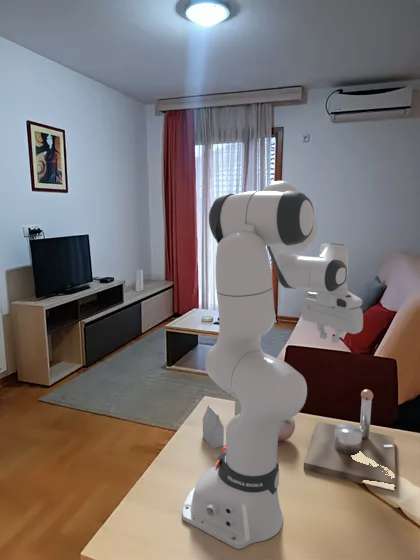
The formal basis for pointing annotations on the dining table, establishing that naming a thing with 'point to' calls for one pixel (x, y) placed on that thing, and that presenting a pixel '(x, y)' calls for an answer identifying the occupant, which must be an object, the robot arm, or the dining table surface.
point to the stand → (342, 465)
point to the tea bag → (213, 428)
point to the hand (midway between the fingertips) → (329, 340)
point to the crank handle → (355, 428)
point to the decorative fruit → (286, 429)
